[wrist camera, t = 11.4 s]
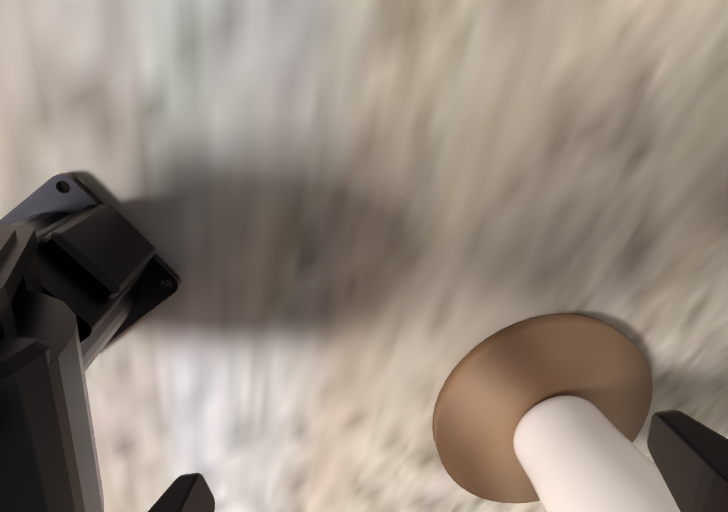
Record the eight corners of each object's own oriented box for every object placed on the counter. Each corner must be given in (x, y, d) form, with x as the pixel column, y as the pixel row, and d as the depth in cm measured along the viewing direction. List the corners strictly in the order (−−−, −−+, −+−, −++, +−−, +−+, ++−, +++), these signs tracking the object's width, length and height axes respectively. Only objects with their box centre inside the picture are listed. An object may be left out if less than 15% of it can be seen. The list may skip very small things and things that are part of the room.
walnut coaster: (496, 518, 28) (502, 533, 28) (389, 402, 24) (393, 415, 23) (667, 415, 27) (680, 426, 26) (591, 269, 22) (603, 277, 21)
